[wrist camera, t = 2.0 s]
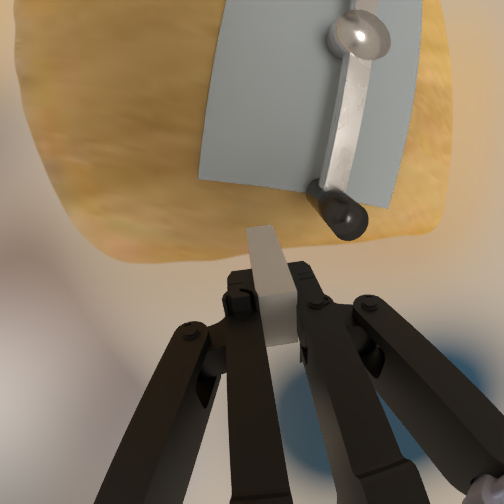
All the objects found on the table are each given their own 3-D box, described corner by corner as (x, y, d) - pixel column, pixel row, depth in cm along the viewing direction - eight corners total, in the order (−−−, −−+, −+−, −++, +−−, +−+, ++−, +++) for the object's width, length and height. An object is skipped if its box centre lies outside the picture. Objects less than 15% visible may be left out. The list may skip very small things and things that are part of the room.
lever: (332, -40, 13) (364, -75, 6) (375, -24, 14) (416, -50, 7) (291, 201, 24) (315, 236, 18) (337, 208, 25) (372, 244, 18)
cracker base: (242, -57, 13) (244, -72, 10) (416, -2, 15) (431, -8, 13) (199, 176, 24) (195, 184, 21) (382, 204, 27) (396, 215, 24)
